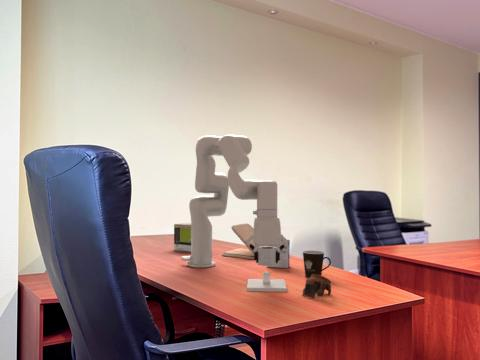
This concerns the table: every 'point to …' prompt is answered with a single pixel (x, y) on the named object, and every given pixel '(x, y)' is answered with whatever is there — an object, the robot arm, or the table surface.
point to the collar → (266, 255)
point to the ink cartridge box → (283, 256)
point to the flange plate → (266, 284)
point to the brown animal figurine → (316, 286)
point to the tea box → (182, 237)
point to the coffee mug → (314, 262)
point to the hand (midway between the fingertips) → (266, 262)
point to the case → (243, 233)
